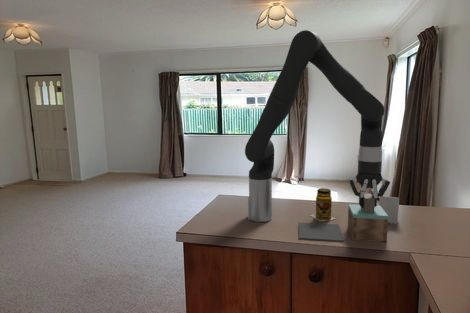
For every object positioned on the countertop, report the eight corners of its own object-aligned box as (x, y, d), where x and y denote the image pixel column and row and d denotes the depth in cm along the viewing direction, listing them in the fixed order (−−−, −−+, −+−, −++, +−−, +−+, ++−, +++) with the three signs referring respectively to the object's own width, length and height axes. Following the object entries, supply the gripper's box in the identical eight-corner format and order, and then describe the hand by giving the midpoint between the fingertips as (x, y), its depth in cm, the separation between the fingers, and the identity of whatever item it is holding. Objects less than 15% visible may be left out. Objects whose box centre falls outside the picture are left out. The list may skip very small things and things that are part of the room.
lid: (353, 217, 110) (354, 200, 109) (348, 207, 121) (349, 191, 120) (388, 219, 108) (389, 201, 107) (380, 208, 119) (380, 192, 118)
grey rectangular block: (397, 224, 125) (398, 199, 123) (378, 221, 129) (379, 196, 127) (397, 221, 128) (399, 196, 127) (379, 218, 132) (380, 194, 130)
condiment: (321, 222, 129) (322, 192, 127) (308, 215, 137) (309, 187, 135) (336, 219, 132) (337, 190, 130) (323, 213, 139) (323, 185, 137)
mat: (298, 239, 113) (298, 237, 113) (298, 223, 128) (298, 222, 128) (344, 241, 110) (344, 240, 110) (338, 225, 125) (338, 224, 125)
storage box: (352, 240, 112) (353, 217, 110) (347, 227, 122) (348, 207, 121) (386, 242, 110) (388, 219, 108) (378, 229, 120) (380, 208, 119)
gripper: (350, 160, 109) (348, 210, 112) (395, 161, 106) (391, 211, 109) (346, 156, 116) (345, 203, 119) (388, 157, 114) (386, 205, 117)
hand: (367, 207), depth 114 cm, fingers closed on lid, 3 cm apart
